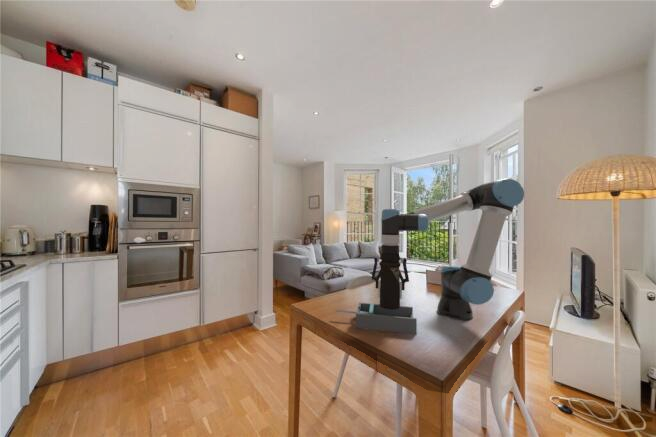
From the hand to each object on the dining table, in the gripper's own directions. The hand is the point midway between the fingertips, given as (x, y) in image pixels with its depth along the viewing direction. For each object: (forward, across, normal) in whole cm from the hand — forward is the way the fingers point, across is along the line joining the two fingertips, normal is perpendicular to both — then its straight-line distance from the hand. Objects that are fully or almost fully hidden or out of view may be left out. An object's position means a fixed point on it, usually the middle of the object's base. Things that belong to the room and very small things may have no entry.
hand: (389, 296), depth 103 cm
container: (+5, 0, 0) cm, 5 cm away
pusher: (+11, +15, 0) cm, 19 cm away
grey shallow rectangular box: (+12, +2, 0) cm, 12 cm away
